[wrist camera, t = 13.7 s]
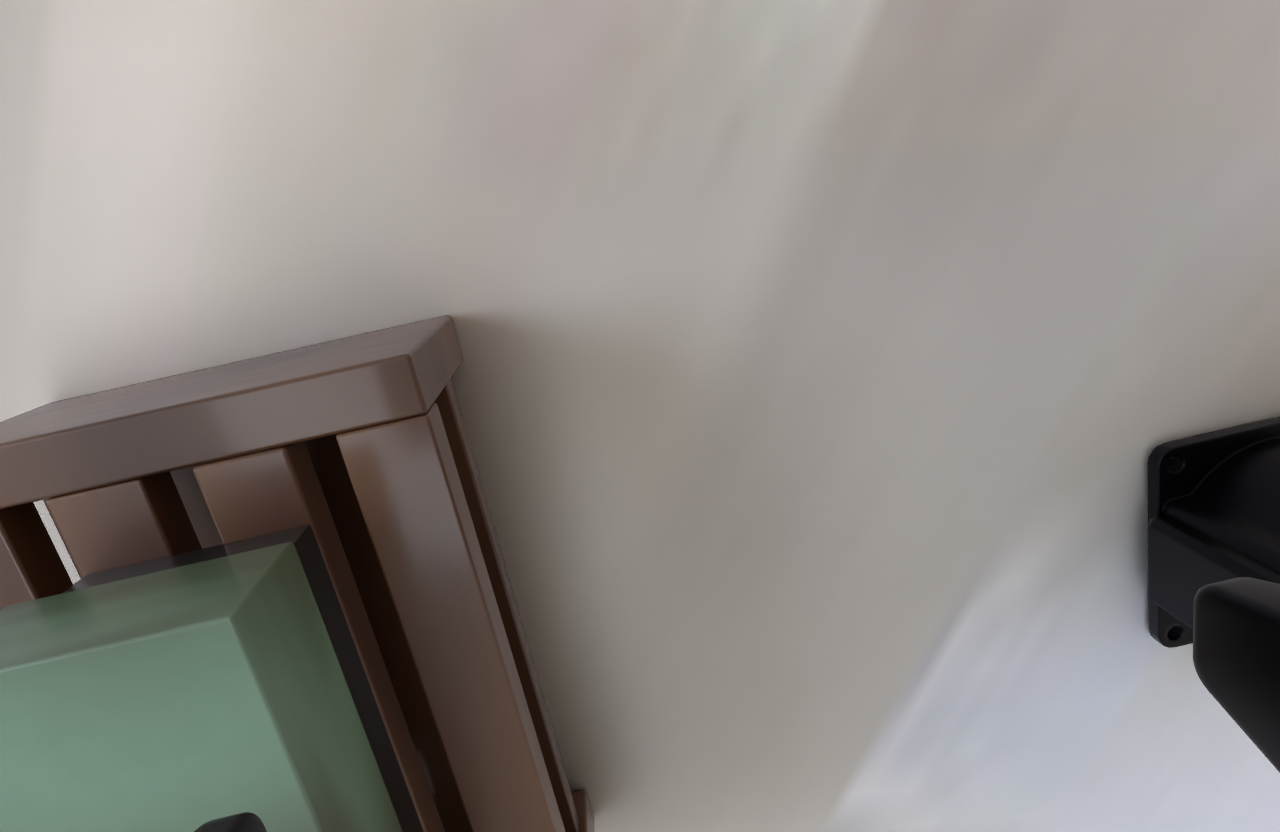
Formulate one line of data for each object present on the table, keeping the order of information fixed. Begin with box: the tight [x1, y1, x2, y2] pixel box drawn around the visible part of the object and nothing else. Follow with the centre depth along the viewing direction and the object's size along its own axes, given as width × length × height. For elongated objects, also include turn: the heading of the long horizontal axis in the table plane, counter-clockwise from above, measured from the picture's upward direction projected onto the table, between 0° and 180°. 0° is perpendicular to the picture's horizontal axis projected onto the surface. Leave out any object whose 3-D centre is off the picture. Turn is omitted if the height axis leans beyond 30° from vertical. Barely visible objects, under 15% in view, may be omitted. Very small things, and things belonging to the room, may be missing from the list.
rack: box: [0, 315, 594, 832], centre depth 18 cm, size 10×16×5 cm, turn 12°
